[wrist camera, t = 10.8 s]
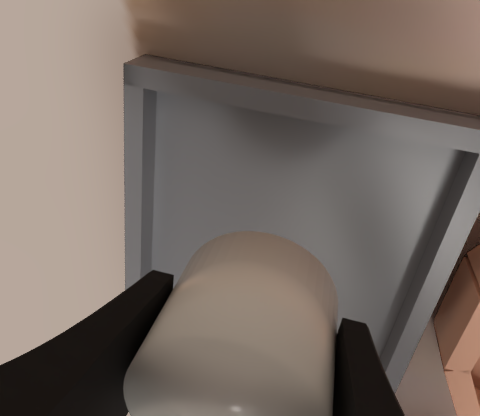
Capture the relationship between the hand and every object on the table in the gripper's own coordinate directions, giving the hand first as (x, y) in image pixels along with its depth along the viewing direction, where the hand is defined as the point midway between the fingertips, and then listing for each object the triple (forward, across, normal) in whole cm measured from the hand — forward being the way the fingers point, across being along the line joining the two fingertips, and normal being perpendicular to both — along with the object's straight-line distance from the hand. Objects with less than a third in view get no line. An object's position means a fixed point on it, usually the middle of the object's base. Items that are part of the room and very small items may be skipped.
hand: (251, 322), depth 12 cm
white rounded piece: (+1, 0, 0) cm, 1 cm away
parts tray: (+9, 0, +4) cm, 9 cm away
